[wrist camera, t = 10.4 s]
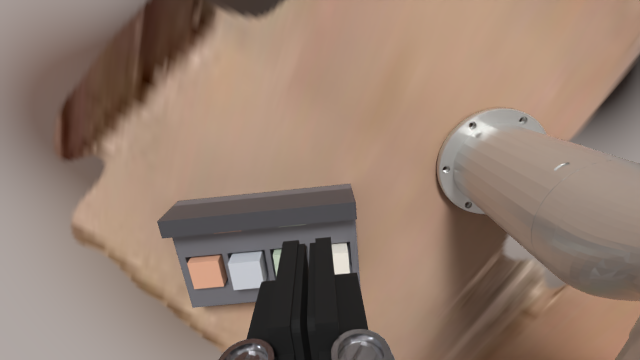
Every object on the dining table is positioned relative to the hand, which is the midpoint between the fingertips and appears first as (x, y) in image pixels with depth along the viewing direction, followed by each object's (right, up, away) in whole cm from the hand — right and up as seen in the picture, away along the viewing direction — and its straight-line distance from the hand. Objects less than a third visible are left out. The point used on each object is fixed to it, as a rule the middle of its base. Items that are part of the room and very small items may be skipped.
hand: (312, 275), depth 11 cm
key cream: (+2, -6, +28) cm, 29 cm away
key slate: (-8, -7, +28) cm, 30 cm away
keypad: (-6, -4, +30) cm, 31 cm away
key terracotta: (-13, -7, +29) cm, 33 cm away
